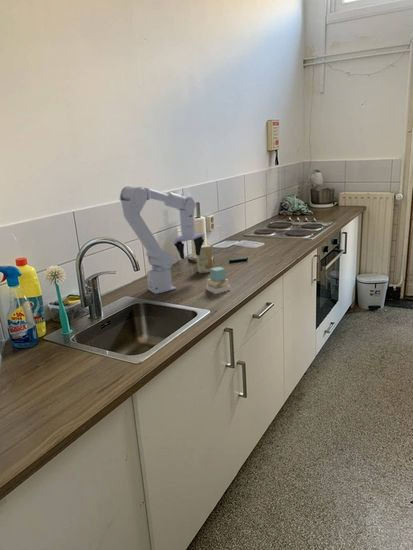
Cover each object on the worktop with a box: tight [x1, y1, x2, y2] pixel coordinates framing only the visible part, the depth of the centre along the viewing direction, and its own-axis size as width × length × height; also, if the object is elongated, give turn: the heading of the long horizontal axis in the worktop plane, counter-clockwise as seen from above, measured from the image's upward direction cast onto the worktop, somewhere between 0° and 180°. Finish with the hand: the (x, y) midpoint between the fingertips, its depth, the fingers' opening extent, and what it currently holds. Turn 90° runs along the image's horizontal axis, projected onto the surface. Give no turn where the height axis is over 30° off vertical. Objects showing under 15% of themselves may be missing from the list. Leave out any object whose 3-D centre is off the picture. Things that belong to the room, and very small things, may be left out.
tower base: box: [205, 284, 231, 295], centre depth 167 cm, size 7×7×2 cm
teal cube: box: [209, 266, 227, 282], centre depth 165 cm, size 4×4×4 cm
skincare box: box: [196, 244, 213, 274], centre depth 191 cm, size 6×4×12 cm
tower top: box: [207, 278, 229, 289], centre depth 166 cm, size 6×6×2 cm
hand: (190, 256), depth 179 cm, fingers open, 7 cm apart
